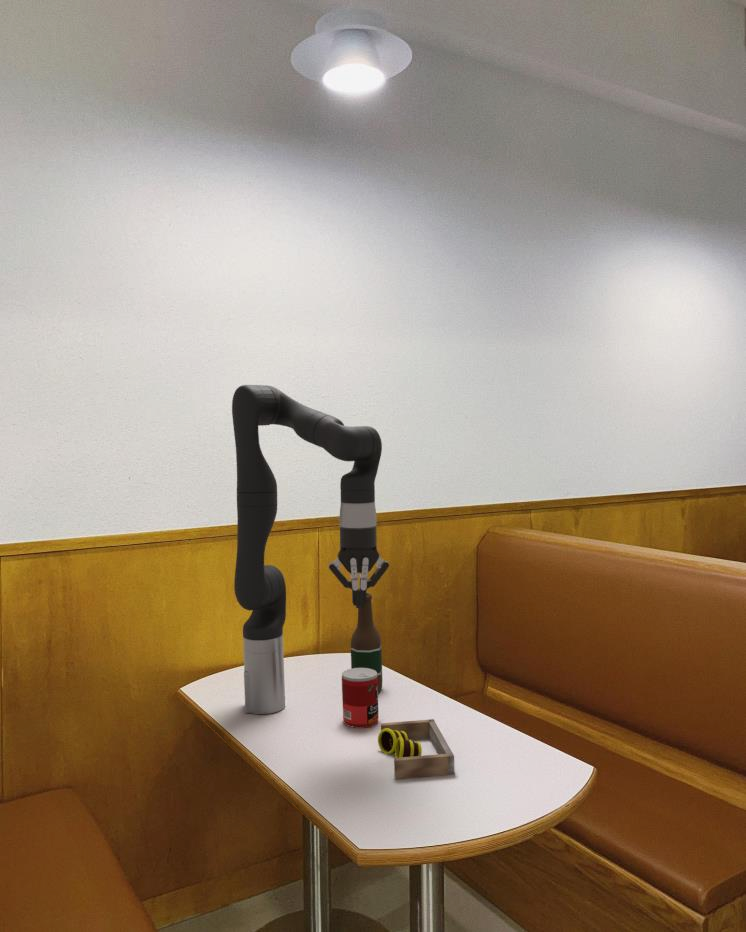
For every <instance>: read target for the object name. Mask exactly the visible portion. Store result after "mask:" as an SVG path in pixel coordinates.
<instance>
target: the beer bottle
mask: <svg viewBox="0 0 746 932" xmlns="http://www.w3.org/2000/svg"><path fill="white" fill-rule="evenodd" d="M372 599H373V595H372V594H371V593H368V592H366V605H363V608H357V625H356V626H357V627H356V629H355V630H354V632H353V633H352V637H351V639H350V669H352V668H369V669H373V670H375V671H376V672H377V678H378V694H379V693H380V692H381V691H382V688H383V655H382V653H383V652H382V651H383V650H382V648H383V647H382V638H381V634H380V632H379V630H378V629H377V628H376V626H375V622H374V618H373V605H372Z"/></svg>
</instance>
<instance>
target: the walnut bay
mask: <svg viewBox="0 0 746 932" xmlns="http://www.w3.org/2000/svg"><path fill="white" fill-rule="evenodd" d="M385 728H389V729H391V730H396V731H404V732H405V733H406V734H407V736H408V740H410V739H414V740H422V738H426V739H429V740H430V742H431V744H432V746H433V747H434V750H435V749H436V750H435V752H436V751H437V752H436V753H438V754H427V755H421V756H413V757H401V758H395V757H394V758H393V762H394V763H393V767H394V768H393V769H394V774H393V775H394V779H395V780H402V779H414V778H425V777H436V776H446V775H447V776H448V775H456V774H455V773H456V772H455V755H454V753H453V751H452V749H451V747H450V746H449V744H448V742H447V740H446V738H445V737H444V735H443V733H442V732H441V730H440V728H439V726H438V724H437V723H436V721H435V719H433V718H432V719H431V718H430V719H418V720H417V719H416V720H408V721H407V720H405V721H393V722H392V721H391V722H381V723H380V731H381V730H383V729H385Z"/></svg>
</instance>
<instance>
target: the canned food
mask: <svg viewBox="0 0 746 932" xmlns="http://www.w3.org/2000/svg"><path fill="white" fill-rule="evenodd" d="M341 694H342V695H341V696H342V697H341V698H342V700H341V701H342V720H343V722H345V723H344V724H345V725H347V726H348V725H349V726H348V727H351V726H353V727H352V728H356V727H364V728H369V726H370V727H372V725H373V726H375V725H376V724H377V723H378V721H379V718H380V717H379V693H378V678H377V672H376V671H375V670H373V669H369V668H352V669H351V668H348V669H345V670H343V671H342V673H341Z"/></svg>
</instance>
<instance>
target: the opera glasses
mask: <svg viewBox="0 0 746 932" xmlns="http://www.w3.org/2000/svg"><path fill="white" fill-rule="evenodd" d="M377 744H378V747H379V749H380V751H381V752H382V753H384V754H385V755H392V754H394V758H401V757H413V756H422V752H423V751H422V745H421V742H420V741H414V740H413V741H412V740H408V736H407V734H406V733H405V732H404V731H396V730H391V729H389V728H385V729H383V730H381V729H380V732H379V733H378V736H377Z"/></svg>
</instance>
